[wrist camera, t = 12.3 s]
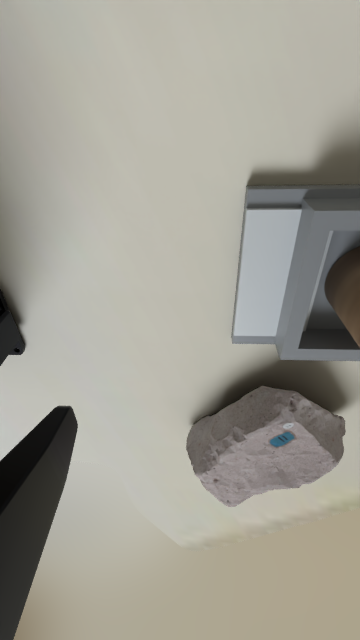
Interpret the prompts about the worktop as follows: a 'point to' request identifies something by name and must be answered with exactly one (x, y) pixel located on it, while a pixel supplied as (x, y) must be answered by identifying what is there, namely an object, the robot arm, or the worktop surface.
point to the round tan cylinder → (346, 291)
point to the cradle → (295, 269)
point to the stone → (264, 445)
